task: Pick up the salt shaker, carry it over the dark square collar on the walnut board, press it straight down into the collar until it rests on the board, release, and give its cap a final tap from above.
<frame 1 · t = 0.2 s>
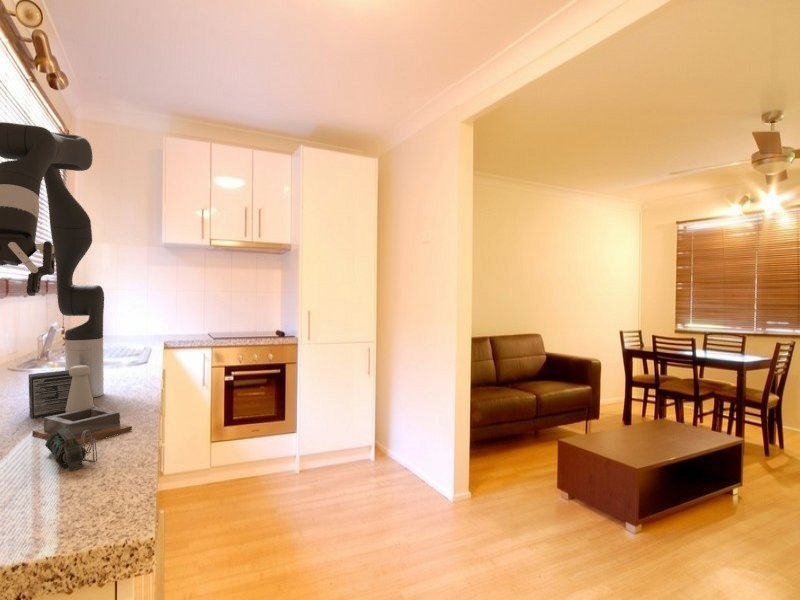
hand: (0, 294, 79), 31 cm above the worktop, tool tilted 20°, fingers open, 8 cm apart
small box: (56, 413, 115), on the worktop
salt shaker: (80, 418, 110), on the worktop
socket board: (82, 432, 98), on the worktop
stun grenade: (72, 461, 83), on the worktop
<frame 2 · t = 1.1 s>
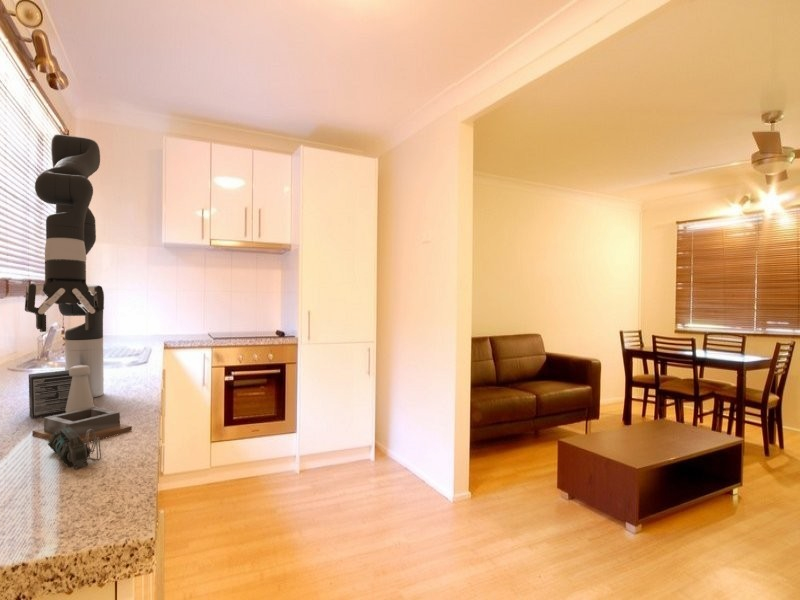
hand: (66, 330, 101), 22 cm above the worktop, tool pointing down, fingers open, 8 cm apart
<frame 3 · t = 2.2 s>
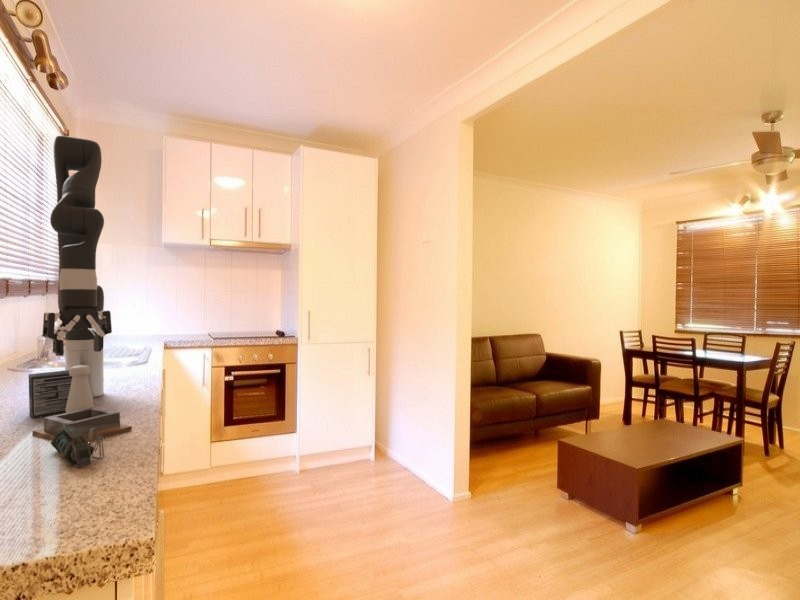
hand: (79, 353, 109), 16 cm above the worktop, tool pointing down, fingers open, 8 cm apart
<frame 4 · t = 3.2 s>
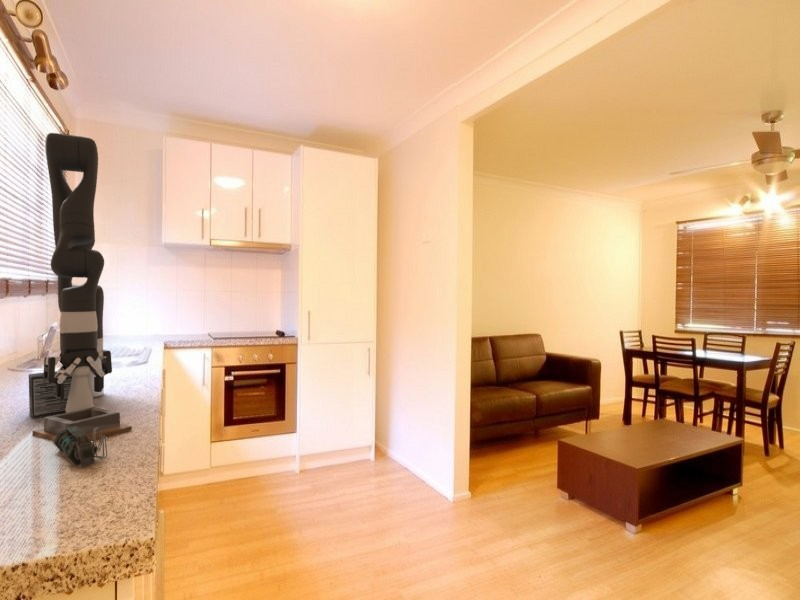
hand: (79, 395, 109), 6 cm above the worktop, tool pointing down, fingers open, 8 cm apart
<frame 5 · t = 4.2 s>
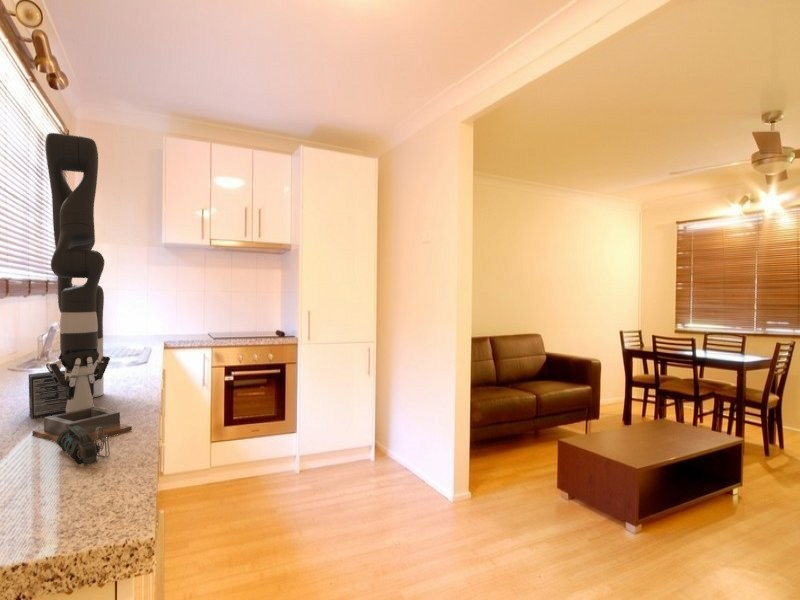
hand: (79, 399, 110), 5 cm above the worktop, tool pointing down, fingers closed on salt shaker, 3 cm apart
salt shaker: (80, 418, 110), on the worktop, touching gripper
when the fingers open (7 cm above the worktop, at t = 8.4 s): salt shaker stays where it is, resting on socket board.
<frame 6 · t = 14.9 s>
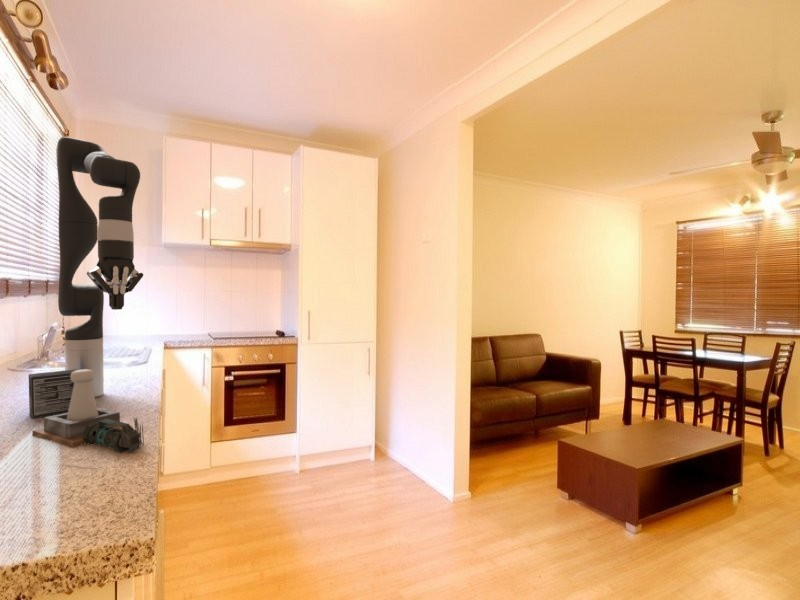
hand: (116, 309, 110), 27 cm above the worktop, tool pointing down, fingers closed
salt shaker: (82, 429, 98), point 1 cm above the worktop, touching socket board
stun grenade: (117, 447, 90), on the worktop
everything else where it was.
at the end: salt shaker 0.1 cm off-centre on the socket board, point 0.8 cm above the socket board's base; salt shaker tilted 0°; the gripper is holding nothing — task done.
